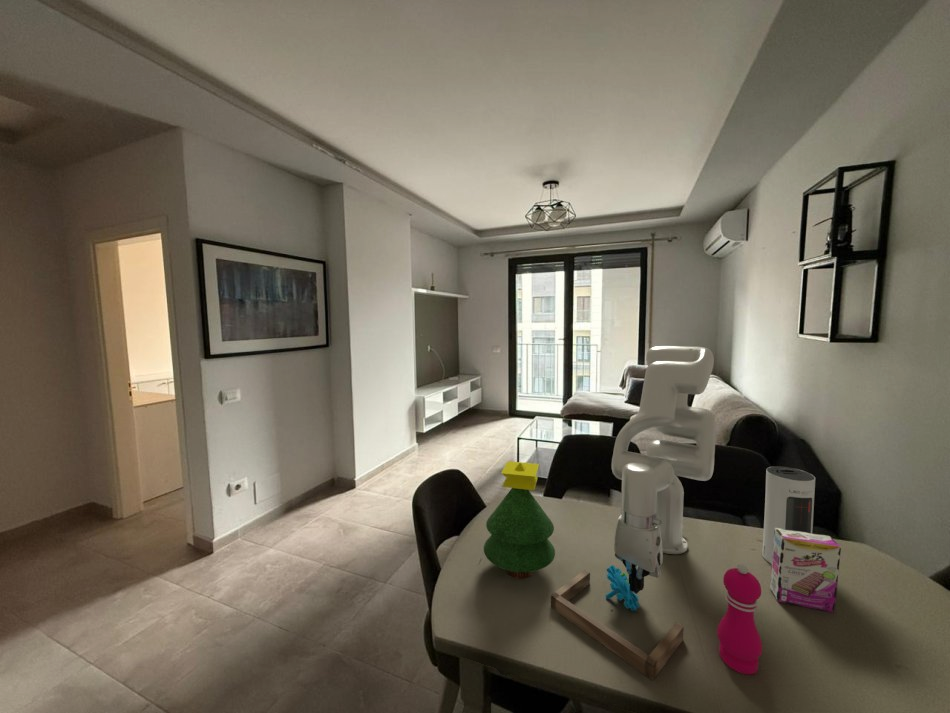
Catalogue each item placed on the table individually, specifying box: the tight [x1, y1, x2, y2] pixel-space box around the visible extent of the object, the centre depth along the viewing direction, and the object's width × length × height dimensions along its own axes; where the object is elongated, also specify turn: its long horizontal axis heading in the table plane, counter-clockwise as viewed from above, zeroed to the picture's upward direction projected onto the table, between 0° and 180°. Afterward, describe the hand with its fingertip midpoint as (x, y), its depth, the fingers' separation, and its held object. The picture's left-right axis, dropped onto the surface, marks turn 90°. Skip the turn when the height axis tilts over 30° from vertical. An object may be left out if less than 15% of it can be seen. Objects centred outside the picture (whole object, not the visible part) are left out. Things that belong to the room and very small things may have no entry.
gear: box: [605, 564, 640, 612], centre depth 90 cm, size 11×6×10 cm
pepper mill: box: [716, 563, 763, 675], centre depth 73 cm, size 7×7×20 cm
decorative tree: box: [483, 460, 556, 580], centre depth 100 cm, size 19×19×30 cm
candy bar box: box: [769, 528, 842, 613], centre depth 88 cm, size 11×5×16 cm, turn 71°
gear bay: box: [550, 569, 685, 681], centre depth 83 cm, size 14×24×3 cm, turn 40°
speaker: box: [761, 465, 816, 565], centre depth 103 cm, size 11×10×26 cm
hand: (635, 589), depth 89 cm, fingers closed
